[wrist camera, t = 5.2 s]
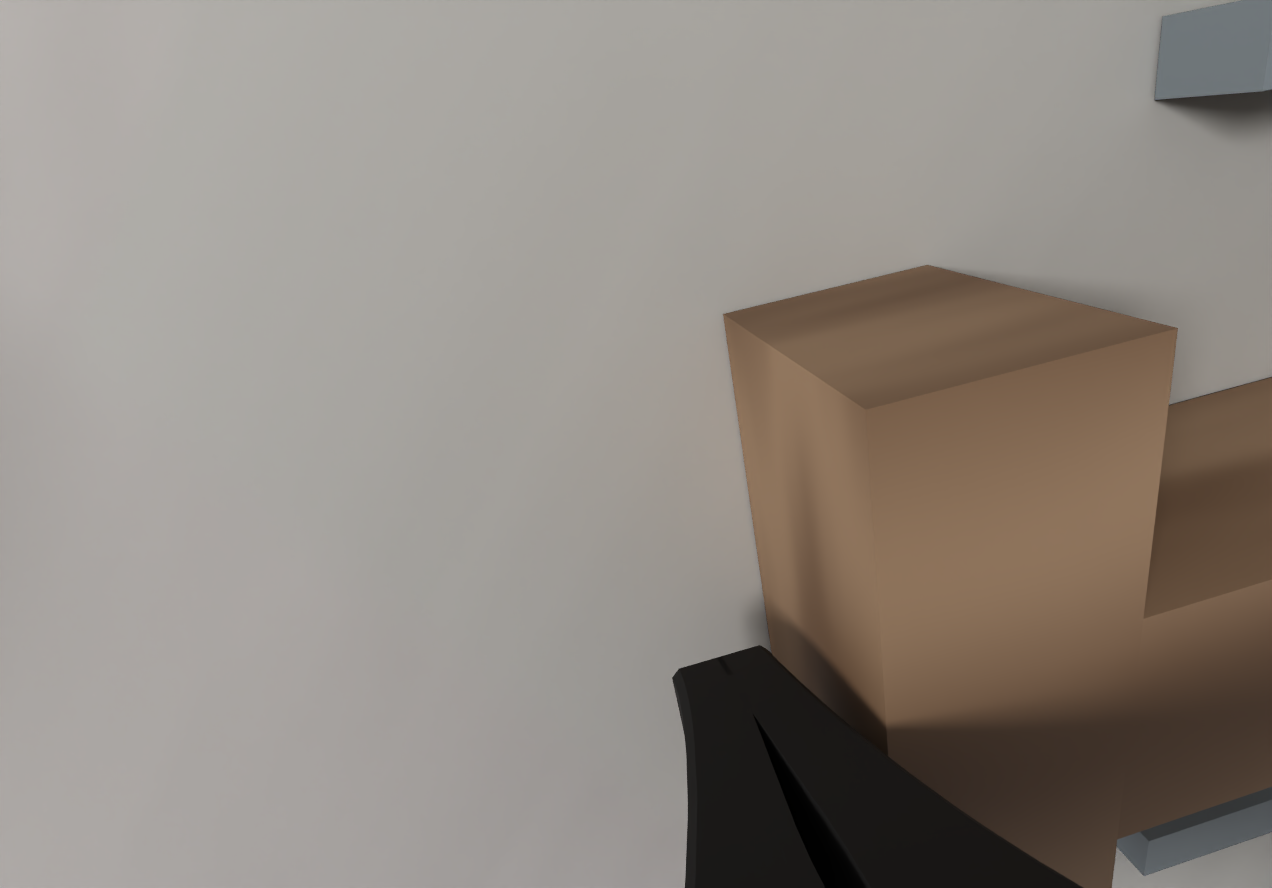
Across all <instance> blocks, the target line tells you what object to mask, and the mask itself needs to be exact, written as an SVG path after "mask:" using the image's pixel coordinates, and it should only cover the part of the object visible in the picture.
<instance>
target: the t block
mask: <svg viewBox="0 0 1272 888" xmlns="http://www.w3.org/2000/svg"><path fill="white" fill-rule="evenodd" d="M723 316H724V323H725V330H726V337H727V344H728V351H729V358H730V365H731V372H732V379H733V386H734V393H735V400H736V407H737V414H738V421H739V428H740V435H741V442H742V449H743V456H744V463H745V470H746V477H747V484H748V491H749V498H750V505H751V512H752V519H753V526H754V533H755V540H756V547H757V554H758V561H759V568H760V575H761V582H762V589H763V596H764V603H765V610H766V617H767V624H768V631H769V638H770V645H771V652H772V655H773V656H774V657H775V658H776V659H777V660H778V661H779V662H780V663H781V664H782V665H783V666H784V667H785V668H786V669H787V670H789V671H790V672H791V673H792V674H793V675H794V676H795V677H796V678H797V679H798V680H799V681H800V682H801V683H802V684H803V685H805V686H806V687H807V688H808V689H809V690H810V691H811V692H812V693H813V694H814V695H816V696H817V697H818V698H819V699H820V700H821V701H822V702H823V703H825V704H826V705H827V706H828V707H829V708H830V709H831V710H832V711H834V712H835V713H836V714H837V715H838V716H840V717H841V718H842V719H843V720H844V721H845V722H847V723H848V724H849V725H850V726H851V727H853V728H854V729H855V730H856V731H858V732H859V733H860V734H861V735H863V736H864V737H865V738H866V739H867V740H869V741H870V742H871V743H872V744H874V745H875V746H876V747H877V748H879V749H880V750H881V751H882V752H883V753H885V754H886V755H887V756H888V757H890V758H891V759H892V760H894V761H895V762H896V763H898V764H899V765H900V766H901V767H903V768H904V769H905V770H907V771H908V772H909V773H911V774H912V775H913V776H915V777H916V778H917V779H919V780H920V781H921V782H923V783H924V784H926V785H927V786H928V787H930V788H931V789H932V790H934V791H935V792H937V793H938V794H939V795H941V796H942V797H943V798H945V799H946V800H948V801H949V802H950V803H952V804H953V805H955V806H956V807H958V808H959V809H960V810H962V811H963V812H965V813H966V814H968V815H969V816H970V817H972V818H973V819H975V820H976V821H978V822H979V823H981V824H982V825H984V826H985V827H987V828H988V829H990V830H991V831H993V832H994V833H996V834H997V835H999V836H1001V837H1002V838H1004V839H1005V840H1007V841H1008V842H1010V843H1012V844H1013V845H1015V846H1016V847H1018V848H1019V849H1021V850H1022V851H1024V852H1026V853H1027V854H1029V855H1030V856H1032V857H1033V858H1035V859H1037V860H1038V861H1040V862H1042V863H1043V864H1045V865H1047V866H1048V867H1050V868H1052V869H1053V870H1055V871H1057V872H1058V873H1060V874H1062V875H1063V876H1065V877H1067V878H1068V879H1070V880H1072V881H1073V882H1075V883H1077V884H1078V885H1080V886H1082V887H1083V888H1112V879H1113V871H1114V863H1115V854H1116V846H1117V839H1120V838H1123V837H1126V836H1129V835H1132V834H1135V833H1138V832H1140V831H1143V830H1146V829H1149V828H1152V827H1155V826H1158V825H1161V824H1164V823H1167V822H1170V821H1173V820H1176V819H1179V818H1181V817H1184V816H1187V815H1190V814H1193V813H1196V812H1199V811H1202V810H1205V809H1208V808H1211V807H1214V806H1217V805H1220V804H1222V803H1225V802H1228V801H1231V800H1234V799H1237V798H1240V797H1243V796H1246V795H1249V794H1252V793H1255V792H1258V791H1261V790H1263V789H1266V788H1269V787H1272V377H1271V378H1267V379H1264V380H1260V381H1256V382H1253V383H1249V384H1246V385H1242V386H1238V387H1235V388H1231V389H1227V390H1224V391H1220V392H1216V393H1213V394H1209V395H1205V396H1202V397H1198V398H1194V399H1191V400H1187V401H1183V402H1180V403H1176V404H1172V405H1169V398H1170V390H1171V381H1172V373H1173V364H1174V356H1175V347H1176V339H1177V331H1178V328H1175V327H1171V326H1167V325H1163V324H1159V323H1155V322H1151V321H1147V320H1143V319H1139V318H1135V317H1131V316H1127V315H1123V314H1119V313H1115V312H1111V311H1107V310H1103V309H1099V308H1095V307H1091V306H1087V305H1083V304H1080V303H1076V302H1072V301H1068V300H1064V299H1060V298H1056V297H1052V296H1048V295H1044V294H1040V293H1036V292H1032V291H1028V290H1024V289H1020V288H1016V287H1012V286H1008V285H1004V284H1000V283H996V282H992V281H988V280H985V279H981V278H977V277H973V276H969V275H965V274H961V273H957V272H953V271H949V270H945V269H941V268H937V267H933V266H929V265H925V266H921V267H917V268H913V269H909V270H904V271H900V272H896V273H892V274H888V275H884V276H880V277H875V278H871V279H867V280H863V281H859V282H855V283H851V284H846V285H842V286H838V287H834V288H830V289H826V290H821V291H817V292H813V293H809V294H805V295H801V296H797V297H792V298H788V299H784V300H780V301H776V302H772V303H768V304H763V305H759V306H755V307H751V308H747V309H743V310H738V311H734V312H730V313H726V314H723Z"/></svg>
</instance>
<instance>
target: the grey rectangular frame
mask: <svg viewBox="0 0 1272 888" xmlns="http://www.w3.org/2000/svg"><path fill="white" fill-rule="evenodd" d="M1270 89H1272V0H1242V1H1237V2H1232V3H1227V4H1222V5H1217V6H1212V7H1207V8H1202V9H1197V10H1192V11H1187V12H1183V13H1178V14H1173V15H1168V16H1163V18H1162V28H1161V39H1160V49H1159V59H1158V69H1157V80H1156V90H1155V100H1158V99H1170V98H1183V97H1196V96H1208V95H1221V94H1234V93H1246V92H1259V91H1266V90H1270ZM1270 832H1272V787H1269V788H1266V789H1263V790H1261V791H1258V792H1255V793H1252V794H1249V795H1246V796H1243V797H1240V798H1237V799H1234V800H1231V801H1228V802H1225V803H1222V804H1220V805H1217V806H1214V807H1211V808H1208V809H1205V810H1202V811H1199V812H1196V813H1193V814H1190V815H1187V816H1184V817H1181V818H1179V819H1176V820H1173V821H1170V822H1167V823H1164V824H1161V825H1158V826H1155V827H1152V828H1149V829H1146V830H1143V831H1140V832H1138V833H1135V834H1132V835H1129V836H1126V837H1123V838H1120V839H1117V847H1118V848H1119V850H1120V851H1121V852H1122V853H1123V854H1124V855H1125V856H1126V857H1127V858H1128V859H1129V860H1130V862H1131V863H1132V864H1133V865H1134V866H1135V867H1136V868H1137V869H1138V870H1139V871H1140V872H1141V874H1142V875H1143V876H1146V875H1149V874H1151V873H1154V872H1157V871H1160V870H1163V869H1166V868H1169V867H1172V866H1175V865H1178V864H1180V863H1183V862H1186V861H1189V860H1192V859H1195V858H1198V857H1201V856H1204V855H1207V854H1209V853H1212V852H1215V851H1218V850H1221V849H1224V848H1227V847H1230V846H1233V845H1236V844H1238V843H1241V842H1244V841H1247V840H1250V839H1253V838H1256V837H1259V836H1262V835H1264V834H1267V833H1270Z"/></svg>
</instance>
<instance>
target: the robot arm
mask: <svg viewBox="0 0 1272 888" xmlns="http://www.w3.org/2000/svg"><path fill="white" fill-rule="evenodd" d="M672 679H673V683H674V688H675V693H676V697H677V702H678V707H679V711H680V716H681V720H682V725H683V730H684V734H685V743H686V755H687V787H688V829H687V855H686V880H685V888H1083V887H1082V886H1080V885H1078V884H1077V883H1075V882H1073V881H1072V880H1070V879H1068V878H1067V877H1065V876H1063V875H1062V874H1060V873H1058V872H1057V871H1055V870H1053V869H1052V868H1050V867H1048V866H1047V865H1045V864H1043V863H1042V862H1040V861H1038V860H1037V859H1035V858H1033V857H1032V856H1030V855H1029V854H1027V853H1026V852H1024V851H1022V850H1021V849H1019V848H1018V847H1016V846H1015V845H1013V844H1012V843H1010V842H1008V841H1007V840H1005V839H1004V838H1002V837H1001V836H999V835H997V834H996V833H994V832H993V831H991V830H990V829H988V828H987V827H985V826H984V825H982V824H981V823H979V822H978V821H976V820H975V819H973V818H972V817H970V816H969V815H968V814H966V813H965V812H963V811H962V810H960V809H959V808H958V807H956V806H955V805H953V804H952V803H950V802H949V801H948V800H946V799H945V798H943V797H942V796H941V795H939V794H938V793H937V792H935V791H934V790H932V789H931V788H930V787H928V786H927V785H926V784H924V783H923V782H921V781H920V780H919V779H917V778H916V777H915V776H913V775H912V774H911V773H909V772H908V771H907V770H905V769H904V768H903V767H901V766H900V765H899V764H898V763H896V762H895V761H894V760H892V759H891V758H890V757H888V756H887V755H886V754H885V753H883V752H882V751H881V750H880V749H879V748H877V747H876V746H875V745H874V744H872V743H871V742H870V741H869V740H867V739H866V738H865V737H864V736H863V735H861V734H860V733H859V732H858V731H856V730H855V729H854V728H853V727H851V726H850V725H849V724H848V723H847V722H845V721H844V720H843V719H842V718H841V717H840V716H838V715H837V714H836V713H835V712H834V711H832V710H831V709H830V708H829V707H828V706H827V705H826V704H825V703H823V702H822V701H821V700H820V699H819V698H818V697H817V696H816V695H814V694H813V693H812V692H811V691H810V690H809V689H808V688H807V687H806V686H805V685H803V684H802V683H801V682H800V681H799V680H798V679H797V678H796V677H795V676H794V675H793V674H792V673H791V672H790V671H789V670H787V669H786V668H785V667H784V666H783V665H782V664H781V663H780V662H779V661H778V660H777V659H776V658H775V657H774V656H773V655H772V654H771V653H770V652H769V651H768V650H767V649H765V648H763V647H762V646H760V645H759V646H755V647H752V648H749V649H745V650H742V651H738V652H735V653H731V654H728V655H725V656H721V657H718V658H714V659H711V660H708V661H704V662H701V663H697V664H694V665H690V666H687V667H684V668H680V669H679V670H678V671H677V672H676V674H675V675H674V676H673V678H672Z"/></svg>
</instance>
